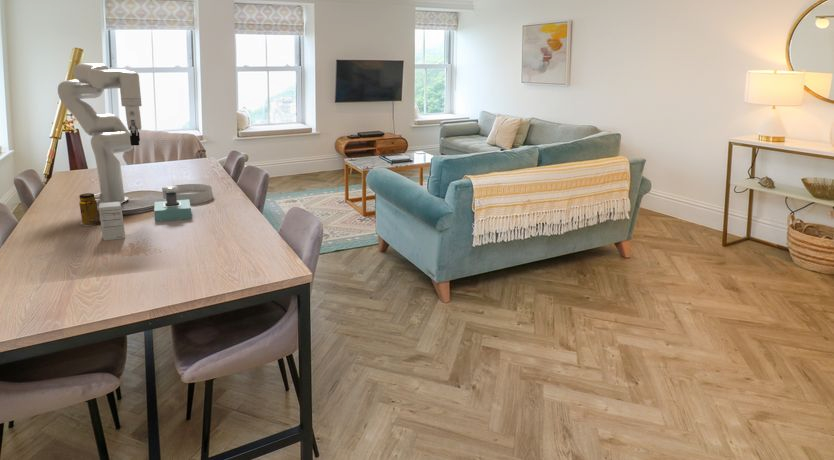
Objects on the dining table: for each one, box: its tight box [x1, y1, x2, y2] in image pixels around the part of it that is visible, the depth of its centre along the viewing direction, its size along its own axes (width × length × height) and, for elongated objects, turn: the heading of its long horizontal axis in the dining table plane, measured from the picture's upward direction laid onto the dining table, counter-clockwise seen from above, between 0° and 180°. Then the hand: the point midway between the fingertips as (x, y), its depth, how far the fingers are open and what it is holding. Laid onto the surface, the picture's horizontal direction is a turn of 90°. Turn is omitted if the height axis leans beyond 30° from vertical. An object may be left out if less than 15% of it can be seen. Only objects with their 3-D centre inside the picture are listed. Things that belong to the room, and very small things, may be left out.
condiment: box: [78, 192, 101, 227], centre depth 236 cm, size 7×8×12 cm
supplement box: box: [98, 202, 126, 241], centre depth 219 cm, size 7×7×13 cm
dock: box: [153, 199, 193, 222], centre depth 250 cm, size 14×16×5 cm
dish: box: [162, 183, 214, 205], centre depth 278 cm, size 22×22×5 cm
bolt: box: [161, 185, 179, 206], centre depth 249 cm, size 6×6×12 cm
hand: (135, 143), depth 250 cm, fingers open, 9 cm apart
